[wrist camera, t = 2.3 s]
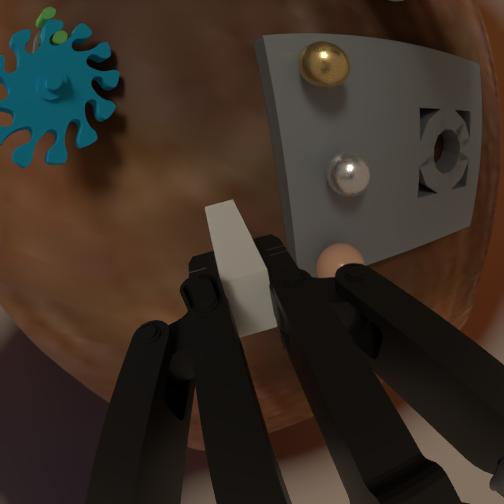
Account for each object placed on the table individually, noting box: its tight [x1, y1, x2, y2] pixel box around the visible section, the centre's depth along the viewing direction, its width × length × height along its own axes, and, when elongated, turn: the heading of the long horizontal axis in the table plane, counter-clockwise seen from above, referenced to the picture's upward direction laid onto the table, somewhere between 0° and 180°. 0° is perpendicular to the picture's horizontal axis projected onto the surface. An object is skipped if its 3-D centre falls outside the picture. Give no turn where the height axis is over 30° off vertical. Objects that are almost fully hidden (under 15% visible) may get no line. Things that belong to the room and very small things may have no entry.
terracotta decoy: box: [316, 243, 365, 278], centre depth 21 cm, size 4×4×4 cm
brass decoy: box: [298, 41, 350, 89], centre depth 13 cm, size 3×3×3 cm
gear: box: [0, 7, 119, 168], centre depth 11 cm, size 11×6×10 cm
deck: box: [254, 33, 482, 278], centre depth 21 cm, size 24×20×2 cm
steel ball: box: [326, 150, 372, 197], centre depth 18 cm, size 3×3×3 cm
